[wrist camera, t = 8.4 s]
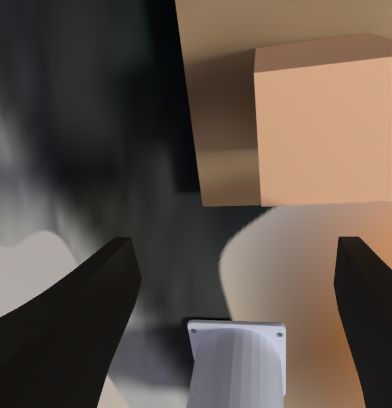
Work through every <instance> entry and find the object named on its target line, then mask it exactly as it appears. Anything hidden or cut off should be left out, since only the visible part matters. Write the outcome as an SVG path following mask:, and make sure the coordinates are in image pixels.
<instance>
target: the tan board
mask: <svg viewBox="0 0 392 408" xmlns="http://www.w3.org/2000/svg"><path fill="white" fill-rule="evenodd" d="M175 3H176V11H177V18H178V26H179V33H180V41H181V48H182V55H183V63H184V70H185V78H186V85H187V92H188V100H189V107H190V115H191V122H192V129H193V137H194V144H195V152H196V159H197V166H198V174H199V181H200V189H201V196H202V203H203V206H239V205H261V191H260V173H259V155H258V138H257V120H256V103H255V85H254V64H255V51H256V48H261V47H268V46H276V45H283V44H291V43H298V42H306V41H313V40H321V39H329V38H336V37H344V36H351V35H359V34H366V33H374V34H377V35H380V36H382V37H385V38H388V39H391V40H392V0H175Z"/></svg>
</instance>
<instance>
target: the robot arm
mask: <svg viewBox="0 0 392 408" xmlns="http://www.w3.org/2000/svg"><path fill="white" fill-rule="evenodd" d="M141 280H142V279H141V275H140V271H139V267H138V263H137V259H136V255H135V251H134V248H133V244H132V240H131V237H115V238H114V239H112V240H111V241H110V242H108V243H107V244H106V245H104V246H103V247H102V248H101V249H99V250H98V251H97V252H96V253H95V254H93V255H92V256H91V257H90V258H88V259H87V260H86V261H85V262H83V263H82V264H81V265H80V266H78V267H77V268H76V269H74V270H73V271H72V272H70V273H69V274H68V275H66V276H65V277H64V278H62V279H61V280H60V281H58V282H57V283H56V284H54V285H53V286H51V287H50V288H49V289H47V290H46V291H44V292H43V293H41V294H40V295H38V296H36V297H35V298H33V299H32V300H30V301H28V302H27V303H25V304H24V305H22V306H20V307H19V308H17V309H15V310H13V311H11V312H9V313H7V314H6V315H4V316H2V317H0V408H97V406H98V402H99V399H100V395H101V392H102V389H103V385H104V382H105V379H106V376H107V372H108V369H109V367H110V364H111V361H112V359H113V356H114V354H115V351H116V349H117V347H118V344H119V342H120V340H121V337H122V335H123V333H124V330H125V328H126V325H127V323H128V321H129V318H130V316H131V313H132V311H133V308H134V306H135V303H136V299H137V296H138V292H139V288H140V284H141ZM334 289H335V294H336V300H337V305H338V311H339V315H340V318H341V321H342V325H343V328H344V331H345V334H346V337H347V341H348V344H349V347H350V350H351V353H352V357H353V360H354V363H355V366H356V369H357V372H358V376H359V379H360V383H361V387H362V391H363V396H364V400H365V406H366V408H392V269H391V268H390V267H389V266H387V265H386V264H385V263H384V262H383V261H382V260H381V259H380V258H379V257H378V256H377V255H376V254H375V253H374V252H373V251H372V250H371V248H369V246H368V245H367V244H366V243H365V242H364V241H363V240H362V239H361V238H359V237H339V239H338V248H337V258H336V267H335V276H334ZM187 327H188V332H189V337H190V342H191V347H192V352H193V357H194V368H193V373H192V379H191V385H190V390H189V396H188V402H187V407H186V408H284V406H283V405H284V404H283V396H284V395H285V394H286V327H285V325H284V324H282V323H273V322H272V323H271V322H246V321H245V322H244V321H219V320H189V321H188V324H187Z"/></svg>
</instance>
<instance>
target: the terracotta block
mask: <svg viewBox="0 0 392 408" xmlns="http://www.w3.org/2000/svg"><path fill="white" fill-rule="evenodd" d="M254 85H255V103H256V120H257V138H258V155H259V173H260V191H261V207H264V206H285V205H286V206H287V205H311V204H338V203H361V202H387V201H392V40H391V39H388V38H385V37H382V36H380V35H377V34H374V33H366V34H359V35H351V36H344V37H336V38H329V39H321V40H313V41H306V42H298V43H291V44H283V45H276V46H268V47H261V48H256V51H255V64H254Z"/></svg>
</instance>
